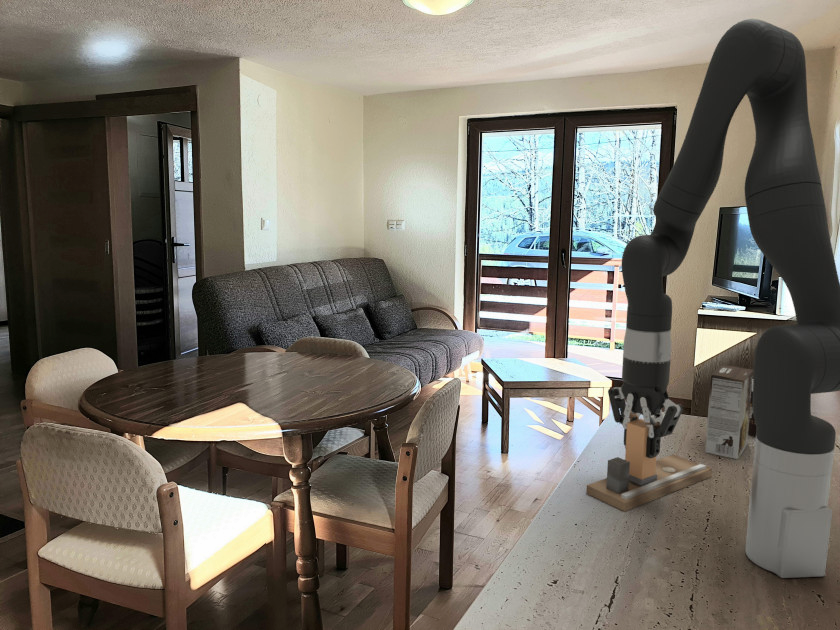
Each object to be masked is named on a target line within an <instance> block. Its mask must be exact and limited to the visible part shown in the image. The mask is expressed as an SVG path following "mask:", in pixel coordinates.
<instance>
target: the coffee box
mask: <svg viewBox="0 0 840 630" xmlns="http://www.w3.org/2000/svg"><path fill="white" fill-rule="evenodd" d="M753 372H754V369H753V368H752V369H751V368H744V367H739V366H733V365H725V364H720V365H719V366H718V367H717V368H716V369H714V371H713V372H712V373H711V374H710V382H709V383H710V384H709V396H708V397H709V399H708V409H707V423H706V425H707V426H706V434H705V435H706V436H705V447H704V451H705V453H707V454H711V455H716V456H719V457H725V458H730V459H735V460H739V459H740V457H741V456H742V454H743V452H744V451H745V449H746V447H747V446H748V438H749V434H748V428H749V415H750V404H751V392H752V383H753Z"/></svg>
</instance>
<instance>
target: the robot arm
mask: <svg viewBox="0 0 840 630" xmlns="http://www.w3.org/2000/svg"><path fill="white" fill-rule="evenodd" d="M805 54H806V53H805V50H804V47H803V45H802V43H801V41H800V39H799V38H798V37H797V36H796V35H795V34H794V33H793V32H790V31H788V30H787V29H785V28H784V29H783V28H782V27H780V26H777V25H775V24H772V23H769V22H767V21H765V20H762V19H758V18H756V19H755V18H748V19H743V20H740V21H738V22H736V23H734V24H733V25H732V26H731V27H729V29H727V30H726V32H724V34H723V35H722V36H721V38H720V39H719V41H718V43H717V44H716V47H715V49H714V51H713V53H712V55H711V58H710V61H709V64H708V67H707V70H706V72H705V75H704V80H703V82H702V85H701V89H700V91H699V95H698V97H697V100H696V103H695V105H694V106H695V107H694V110H693V113H692V116H691V119H690V122H689V125H688V128H687V131H686V134H685V136H684V140H683V143H682V144H681V147H680V150H679V152H678V155H677V156H676V160H675V161H674V164H673V165H672V167H671V169H670V172H669V174H668V176H667V178H666V179H665V182H664V184H663V186H662V187H661V190H660V191H659V193H658V196H657V198H656V200H655V202H654V204H653V208H652V209H653V210H652V212H653V214H654V216H655V217H656V221H655V224H654V227H653V229H652V231H651V233H650V234H642V235H638V236H634V237H633V238H631V239H630V240H629V241H628V243H627V244H626V245H625V247H624V250H623V253H622V255H621V256H622V257H621V273H622V280H623V286H624V291H625V295H626V300H627V311H626V322H625V323H626V325H625V327H626V328H625V333H624V338H623V348H622V351H623V352H622V353H623V354H622V366H621V367H622V371H621V379H622V381H623V383H622V385H621V386H617V387H612V388H609V389H608V391H607V394H608V398H609V402H610V407H611V410H612V415H613V419H614V421H615V423H618V424H619V423H620V424H621V425H622V428H623V429H624V430H623V445H624V448H625V450H626V435H627V422H631V421H634V420H638V419H640V417H641V416H643V418H642V419H643V420H644V423H645V424H646V425H647V432H648V437H647V446H646V457H648V458H654V457H656V458H657V457H658V455H660V452H661V442H662V441H661V439H662V438H663V437H667V436H670V435H672V434H673V432H674V430H675V428H676V426H677V423H678V421H679V419H680V418H681V415H682V413H683V411H684V406H683V405H682V404H681V403H677V404H676V403H675V402H673V400H671V399H670V395H669V394H668V393H669V392H668V385H669V383H670V376H671V375H670V374H671V359H672V343H673V342H672V318H673V300H672V298H671V297H670V296H669V295H668V294H666V293H664V283H663V277H666V276H670V275H671V274H673V273H674V272H675V271H676V270H677V269H678V268H679V267H681V264H683V262H684V260H685V258H686V256H687V253H688V251H689V249H690V246H691V242H692V239H693V236H694V232H695V229H696V224H697V222H698V220H699V219H700V217H701V215H702V213H703V212H704V210H705V208H706V206H707V204H708V202H709V200H710V199H711V197H712V196H713V193H714V191H715V189H716V187H717V185H718V182H719V179H720V175H721V172H722V167H723V160H724V153H725V152H724V151H725V146H726V145H725V144H726V139H727V134H728V131H729V127H730V124H731V121H732V119H733V117H734V114H735V113H736V111H737V109H738V107H739V105H740V104H741V103H742V101H743V99H744V98H745V96H747V98H748V101H749V104H750V107H751V111H752V118H753V122H754V129H755V143H754V148H753V151H752V155H751V157H750V160H749V165H748V168H747V172H746V176H745V179H744V201H745V206H746V211H747V218H748V219H747V220H748V225H749V229H750V233H751V237H752V239H753V240H754V242H755V244H756V246H757V247H758V248H759V250H760V251H761V253H762V254H763V255H764V257H765V258H766V260H767V261H768V263H769V264H771V266H772V268H773V269H774V271H775V272H776V273H777V274H778V275H779V276H780V278H781V279H782V281H783V282H784V284H785V285H786V288H787V290H788V292H789V295H790V298H791V301H792V304H793V308H794V315H795V320H796V324H781V325H776V326H771V327H769V328H767V330H765V331H764V332H763V333H762V335H760V338H759V339H758V342H757V344H756V348H755V351H754V357H753V379H752V383H753V405H752V406H753V415H754V419H755V422H756V437H755V440H754V441H755V443H754V452H753V462H752V473H751V481H750V482H751V485H750V493H749V503H748V504H749V507H748V515H747V516H748V517H747V528H746V539H745V555H746V556H747V559H749V560H750V561H751V562H753V564H755V565H757V566H758V567H760V568H762V569H764V570H766V571H769V572H771V573H774V574H776V575H777V576H778V578H779V577H780V578H781V579H790V578H811V577H814V578H815V577H825V575H826V569H827V568H826V567H827V558H828V551H829V543H830V535H831V524H832V516H833V511H832V509H831V508H830V507H828V506H829V496H830V489H831V488H830V487H831V480H832V470H833V465H834V464H833V462H834V455H835V454H834V453H835V446H836V444H835V443H836V438H837V437H836V436H837V434H836V429H835V427H834V426H833V425H832V424H831V423H830V422H829V421H827V420H826V419H823V418H820V417H817V416H815V415H812V410H811V405H812V403H811V402H812V401H811V400H812V399H811V398H812V395H815V394H822V393H823V394H825V393H834V392H839V391H840V279H839V274H838V271H837V265H836V260H835V256H834V251H833V247H832V241H831V237H830V231H829V225H828V216H827V209H826V204H825V196H824V193H823V187H822V185H823V184H822V179H821V176H820V172H819V167H818V161H817V157H816V149H815V145H814V144H815V143H814V138H813V134H812V129H811V128H812V127H811V124H810V123H811V122H810V116H809V106H808V105H809V104H808V103H809V102H808V86H807V85H808V84H807V65H806V55H805ZM663 408H664V409H663ZM663 415H664V416H663Z"/></svg>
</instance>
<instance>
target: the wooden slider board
mask: <svg viewBox="0 0 840 630" xmlns="http://www.w3.org/2000/svg"><path fill="white" fill-rule="evenodd" d="M629 470H630V462H629V461H626V460H625V458H624V459H623V458H621V457H618V456H617V457H614V458H611V459H608V460H607V471H606V477H605V478H603V479H600V480H598V481H595V482H594V481H593V482H592V483H589V484H586V492H585V493H586V494H587V495H589V496H591V497H593V498H594V499H597V500H599V501H601V502H604V503H605V504H607V505H609V506H612V507H614V508H615V509H618V510H620V511H622V512H628V511H630V510H632V509H635V508H637V507H641V506H642V505H645V504H647V503H649V502H652V501H654V500H657V499H660V498H662V497H665V496H667V495H669V494H672V493H674V492H676V491H679V490H681V489H684V488H686V487H689V486H691V485H695V484H696V483H699V482H701V481H703V480H706V479H709V478H711V477H712V474H713V468H711V467H709V466H707V465H705V464H703V463H698V462H694V461H692V460H689V459H687V458H684V457H681V456H678V455H675V454H672V455H671V454H670V455H667V456H665V457H662V458H660V459H656V471H655V474H656V475H657V480H656V481H653V482H651V483H648V484H645V485H643V486H641V485H638V484H636V483H634V482H631V481H629Z"/></svg>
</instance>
